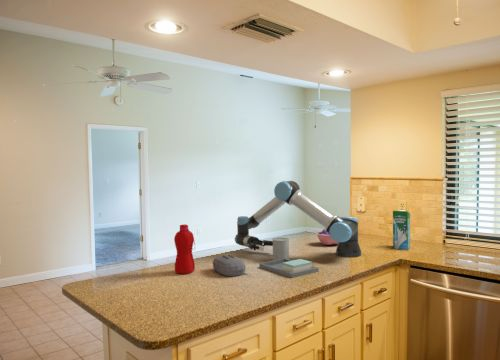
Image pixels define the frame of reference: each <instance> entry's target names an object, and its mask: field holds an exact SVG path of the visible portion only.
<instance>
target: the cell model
mask: <svg viewBox="0 0 500 360" xmlns="http://www.w3.org/2000/svg"><path fill="white" fill-rule="evenodd" d="M315 235H316V236H317V239H318V240H319V242H320V244H322V245H324V246H325V245H326V246H333V245H338V242H336V241H334V240H333V239H332V238H331V236H330V234H329V233H327V232H326V230H325V228H324V229H322V230H321V231H317V232H315Z"/></svg>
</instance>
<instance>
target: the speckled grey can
mask: <svg viewBox="0 0 500 360" xmlns="http://www.w3.org/2000/svg"><path fill="white" fill-rule="evenodd" d="M289 240H290V239H289V238H288V237H273V238H272V241H273V246H272V261H274V260H280V259H289V260H290V244H289V243H290V242H289Z"/></svg>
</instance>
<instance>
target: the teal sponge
mask: <svg viewBox="0 0 500 360" xmlns="http://www.w3.org/2000/svg"><path fill="white" fill-rule="evenodd" d="M312 264H313V261H310V260H306V259H301V258H297V259H294V260H293V261H288V262H283V263H282V265H283V270H284V271H287V272H291V273H294V272H299V271H303V270H307V269H312V268H311V266H312Z"/></svg>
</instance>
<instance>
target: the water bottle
mask: <svg viewBox="0 0 500 360" xmlns="http://www.w3.org/2000/svg"><path fill="white" fill-rule="evenodd" d="M173 240H174V245H175V249H176V256H175V263H174V272H175V273H176V274H181V275H189V274H191V273H193V272H194V271H195V267H196V266H195V259H194V254H193V251H195V250H196V248H194V249H193V246H194V245H196V243H195V237H194V233H193V232H192V231H190V228H189V225H188V224H180V225H179V231H177V232H176V233H175V235H174V239H173Z"/></svg>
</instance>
